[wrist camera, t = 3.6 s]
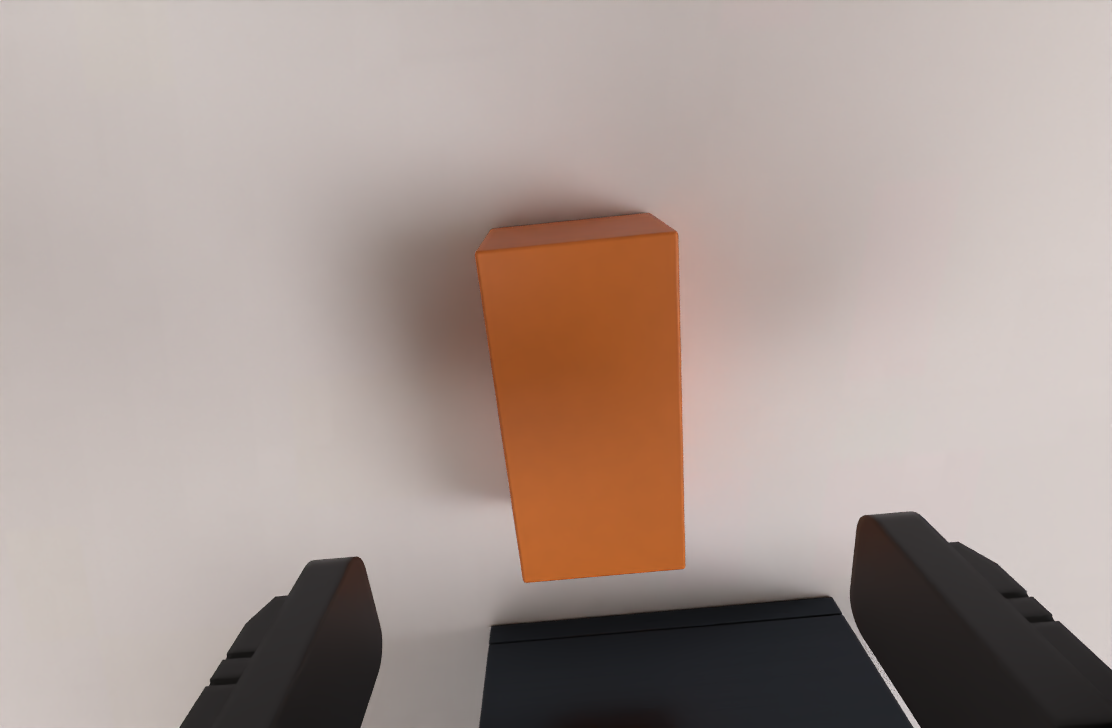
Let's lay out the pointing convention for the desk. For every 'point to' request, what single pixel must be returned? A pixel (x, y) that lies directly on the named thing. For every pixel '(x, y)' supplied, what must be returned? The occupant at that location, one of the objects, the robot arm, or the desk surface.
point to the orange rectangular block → (588, 392)
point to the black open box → (688, 671)
